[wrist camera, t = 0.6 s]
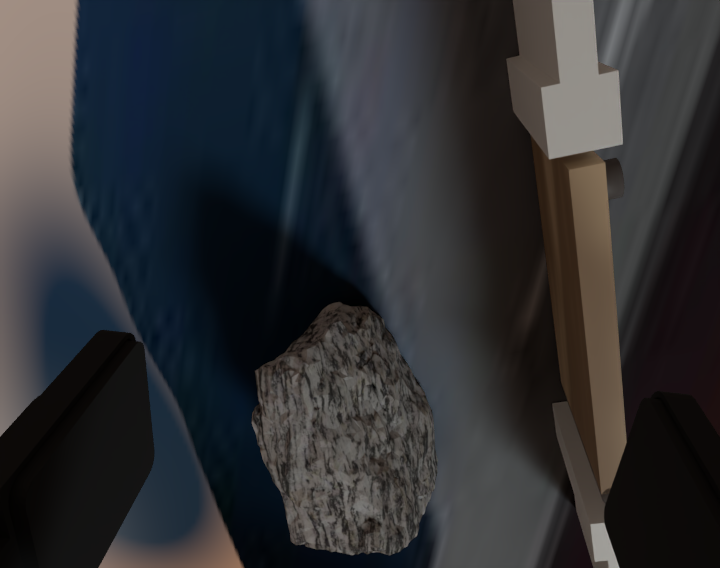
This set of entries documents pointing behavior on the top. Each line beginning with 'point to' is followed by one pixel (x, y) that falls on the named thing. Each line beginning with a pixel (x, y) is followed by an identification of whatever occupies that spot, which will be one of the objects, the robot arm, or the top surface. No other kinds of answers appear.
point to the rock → (347, 435)
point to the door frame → (558, 139)
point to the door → (585, 298)
